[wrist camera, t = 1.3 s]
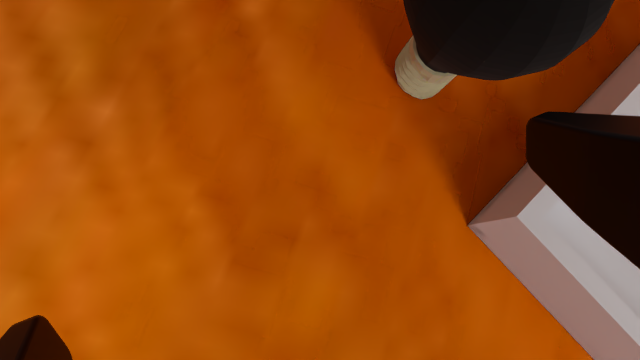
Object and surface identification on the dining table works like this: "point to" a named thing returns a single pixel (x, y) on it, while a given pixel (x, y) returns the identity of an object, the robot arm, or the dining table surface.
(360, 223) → the dining table surface
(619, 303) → the parts tray
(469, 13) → the light bulb
